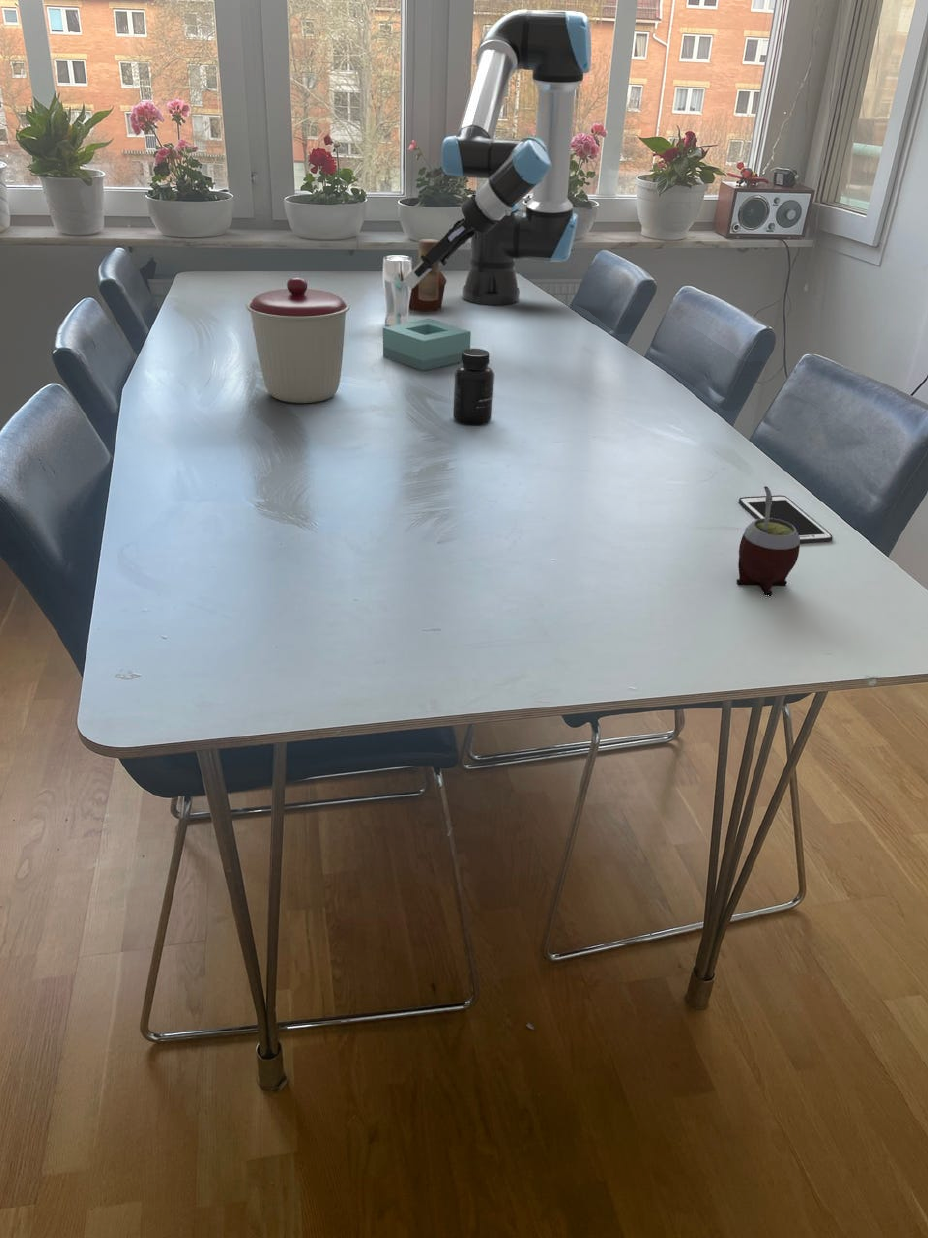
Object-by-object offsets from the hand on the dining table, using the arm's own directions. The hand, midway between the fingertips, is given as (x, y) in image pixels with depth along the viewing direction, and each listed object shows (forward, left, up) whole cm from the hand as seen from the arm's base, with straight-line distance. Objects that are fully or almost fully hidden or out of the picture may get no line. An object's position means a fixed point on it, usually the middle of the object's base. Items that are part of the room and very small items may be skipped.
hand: (412, 280), depth 209 cm
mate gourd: (+42, +116, -12) cm, 124 cm away
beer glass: (-4, -10, -12) cm, 16 cm away
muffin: (-21, -20, -12) cm, 31 cm away
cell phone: (+22, +108, -13) cm, 111 cm away
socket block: (+9, +15, -12) cm, 21 cm away
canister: (+44, +20, -12) cm, 50 cm away
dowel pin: (-2, +3, -3) cm, 5 cm away
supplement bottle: (+28, +49, -12) cm, 58 cm away
